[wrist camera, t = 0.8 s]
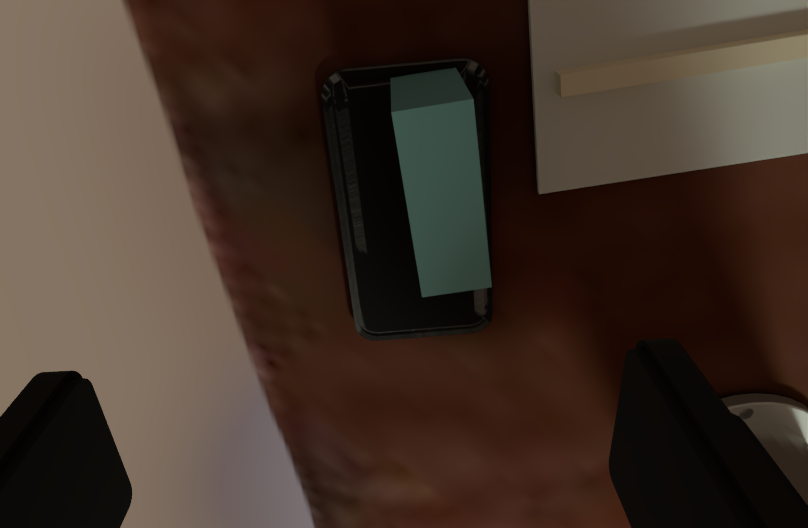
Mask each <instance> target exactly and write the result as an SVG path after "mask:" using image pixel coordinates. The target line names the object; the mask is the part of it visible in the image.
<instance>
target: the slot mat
mask: <svg viewBox="0 0 808 528" xmlns="http://www.w3.org/2000/svg"><path fill="white" fill-rule="evenodd" d="M528 17H529V37H530V57H531V77H532V97H533V117H534V137H535V157H536V177H537V192H538V194H544V193H551V192H557V191H564V190H570V189H577V188H583V187H590V186H596V185H603V184H609V183H616V182H622V181H628V180H635V179H641V178H648V177H654V176H661V175H667V174H674V173H680V172H687V171H693V170H700V169H706V168H713V167H719V166H726V165H732V164H739V163H745V162H752V161H758V160H765V159H771V158H778V157H784V156H791V155H797V154H803V153H808V0H528Z"/></svg>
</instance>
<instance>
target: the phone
mask: <svg viewBox="0 0 808 528" xmlns="http://www.w3.org/2000/svg"><path fill="white" fill-rule="evenodd" d="M448 68H456V69H457V71H458V72H459V74H460V76H461V78H462V79H463V81H464V83H465V85H466V86H467V88H468V90H469V92H470V94H471V95H472V97H473V99H474V109H475V119H476V129H477V140H478V150H479V160H480V170H481V181H482V191H483V201H484V211H485V222H486V232H487V242H488V252H489V263H490V273H491V283H492V253H491V172H490V90H489V79H488V75H487V74H486V72H485V70H484V68H483V67H482V66H481V65H480V64H479V63H478V62H477V61H475V60H472V59H470V58H452V59H441V60H430V61H419V62H408V63H397V64H386V65H375V66H364V67H353V68H344V69H340V70H337V71H335V72H334V73H332V74H331V75H330V76H329V77H328V79H327V80H326V81H325V83H324V86H323V89H322V105H323V112H324V122H325V127H326V132H327V145H328V151H329V158H330V159H331V162H330V167H331V174H332V179H334V186H335V193H336V200H337V206H338V213H339V220H340V227H341V233H342V240H343V247H344V254H345V261H346V267H347V274H348V281H349V288H350V294H351V301H352V308H353V315H354V321H355V327H356V330H357V331H358V333H359V334H360V335H361V336H363V337H364V338H366V339H369V340H377V341H378V340H391V339H403V338H415V337H428V336H440V335H453V334H465V333H474V332H479V331H481V330H483V329H484V328H485V327H486V326H488V325H489V323H490V321H491V319H492V287H490V288H483V289H477V290H470V291H463V292H456V293H449V294H442V295H435V296H429V297H422V294H421V288H420V282H419V276H418V270H417V264H416V258H415V252H414V246H413V240H412V234H411V228H410V222H409V216H408V210H407V204H406V198H405V192H404V186H403V180H402V174H401V168H400V162H399V156H398V150H397V144H396V138H395V132H394V126H393V120H392V114H391V80H390V78H392V77H398V76H404V75H410V74H417V73H423V72H429V71H435V70H441V69H448Z"/></svg>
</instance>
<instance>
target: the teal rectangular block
mask: <svg viewBox="0 0 808 528" xmlns="http://www.w3.org/2000/svg"><path fill="white" fill-rule="evenodd" d="M390 80H391V114H392V120H393V126H394V132H395V138H396V144H397V150H398V156H399V162H400V168H401V174H402V180H403V186H404V192H405V198H406V204H407V210H408V216H409V222H410V228H411V234H412V240H413V246H414V252H415V258H416V264H417V270H418V276H419V282H420V288H421V294H422V297H429V296H435V295H442V294H449V293H456V292H463V291H470V290H477V289H483V288H490V287H492V283H491V273H490V263H489V252H488V242H487V232H486V222H485V211H484V201H483V191H482V181H481V170H480V160H479V150H478V140H477V129H476V119H475V109H474V99H473V97H472V95H471V94H470V92H469V90H468V88H467V86H466V85H465V83H464V81H463V79H462V78H461V76H460V74H459V72H458V71H457V69H456V68H448V69H441V70H435V71H429V72H423V73H417V74H410V75H404V76H398V77H392V78H390Z"/></svg>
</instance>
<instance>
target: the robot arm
mask: <svg viewBox="0 0 808 528" xmlns="http://www.w3.org/2000/svg"><path fill="white" fill-rule="evenodd" d="M609 470H610V476H611V479H612V482H613V485H614V487H615V489H616V492H617V494H618V497H619V499H620V501H621V504H622V506H623V508H624V511H625V513H626V516H627V518H628V520H629V523H630V525H631V527H632V528H808V407H806V406H805V405H804V404H802V403H800V402H798V401H795V400H793V399H791V398H788V397H783V396H779V395H774V394H759V393H753V394H742V395H734V396H730V397H725V398H720V397H719V396H718V394H717V393H716V392H715V390H714V389H713V388H712V386H711V385H710V384H709V382H708V381H707V379H706V378H705V377H704V375H703V374H702V373H701V371H700V370H699V369H698V367H697V366H696V365H695V363H694V362H693V360H692V359H691V358H690V356H689V355H688V354H687V352H686V351H685V350H684V348H683V347H682V346H681V344H680V343H679V342H678V341H677V340H676V339H673V338H672V339H653V340H641V341H639V342H638V344H637V346H636V349H630V350H628V352H627V354H626V359H625V365H624V371H623V377H622V383H621V389H620V395H619V402H618V408H617V414H616V420H615V426H614V432H613V438H612V444H611V450H610V457H609ZM131 499H132V487H131V484H130V481H129V478H128V476H127V473H126V470H125V468H124V465H123V463H122V460H121V457H120V455H119V452H118V450H117V447H116V445H115V442H114V439H113V437H112V434H111V432H110V429H109V427H108V424H107V421H106V419H105V416H104V414H103V411H102V409H101V406H100V403H99V401H98V398H97V396H96V393H95V391H94V388H93V386H92V383H91V382H90V381H89V380H88V379H83V378H82V376H81V375H80V374H79V373H78V372H76V371H59V372H42V373H39V374H37V375H36V376H34V377H33V378H32V380H31V381H30V382H29V383H28V384H27V386H26V387H25V388H24V389H23V390H22V392H21V393H20V394H19V395H18V397H17V398H16V399H15V400H14V401H13V402H12V404H11V405H10V406H9V407H8V408H7V410H6V411H5V412H4V413H3V414H2V416H1V417H0V528H120V526H121V524H122V522H123V520H124V518H125V516H126V513H127V511H128V509H129V507H130V503H131Z"/></svg>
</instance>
